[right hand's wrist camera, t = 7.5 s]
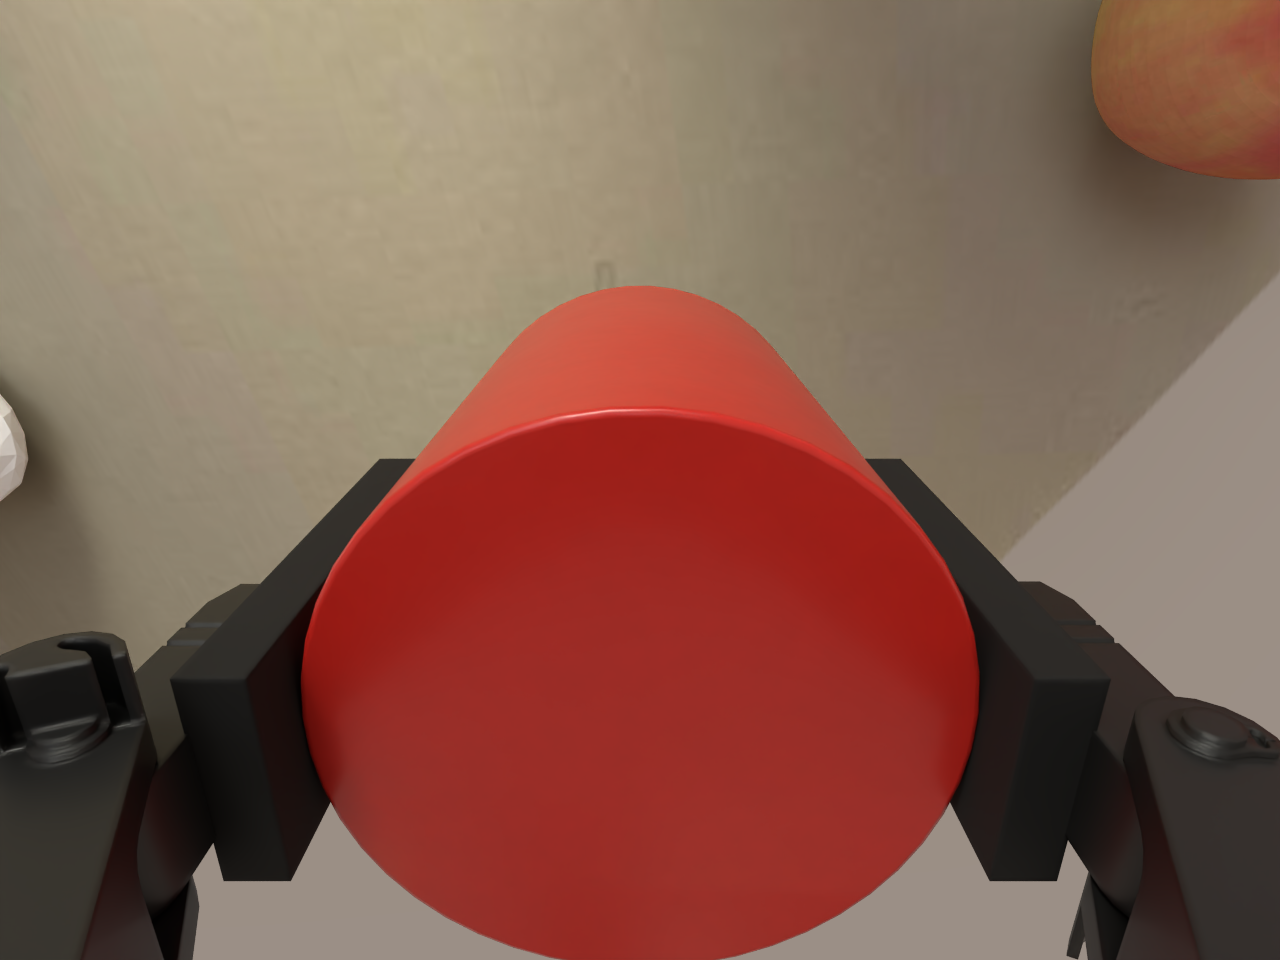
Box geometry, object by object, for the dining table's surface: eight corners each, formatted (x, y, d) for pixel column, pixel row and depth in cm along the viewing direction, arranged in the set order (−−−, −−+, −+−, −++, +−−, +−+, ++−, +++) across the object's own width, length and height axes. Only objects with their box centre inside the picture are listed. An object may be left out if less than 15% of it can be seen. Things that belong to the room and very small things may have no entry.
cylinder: (872, 467, 18) (1112, 756, 9) (628, 653, 20) (618, 1050, 11) (655, 206, 16) (674, 233, 7) (404, 442, 18) (155, 713, 9)
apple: (1199, -185, 25) (1539, -417, 16) (1361, 25, 27) (1744, -68, 18) (979, 68, 28) (1157, 0, 18) (1143, 242, 30) (1378, 262, 20)
